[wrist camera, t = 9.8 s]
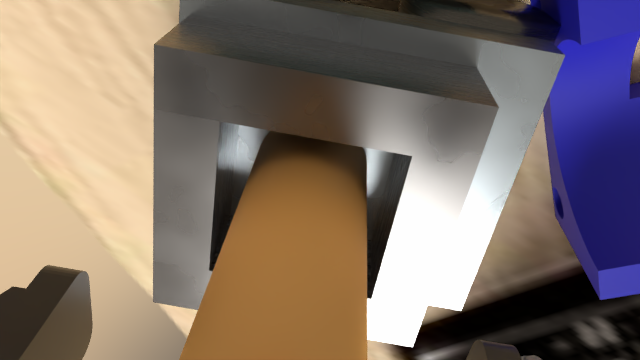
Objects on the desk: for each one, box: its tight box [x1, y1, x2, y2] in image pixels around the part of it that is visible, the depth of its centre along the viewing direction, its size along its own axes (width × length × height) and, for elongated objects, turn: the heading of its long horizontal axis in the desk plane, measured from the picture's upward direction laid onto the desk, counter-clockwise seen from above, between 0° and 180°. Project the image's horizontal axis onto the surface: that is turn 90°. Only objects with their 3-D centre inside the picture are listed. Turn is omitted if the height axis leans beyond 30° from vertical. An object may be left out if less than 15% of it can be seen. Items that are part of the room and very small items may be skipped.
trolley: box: [153, 0, 565, 347], centre depth 19 cm, size 13×10×10 cm
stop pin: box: [179, 131, 367, 360], centre depth 13 cm, size 4×4×11 cm
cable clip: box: [530, 0, 640, 300], centre depth 20 cm, size 12×4×6 cm, turn 17°
